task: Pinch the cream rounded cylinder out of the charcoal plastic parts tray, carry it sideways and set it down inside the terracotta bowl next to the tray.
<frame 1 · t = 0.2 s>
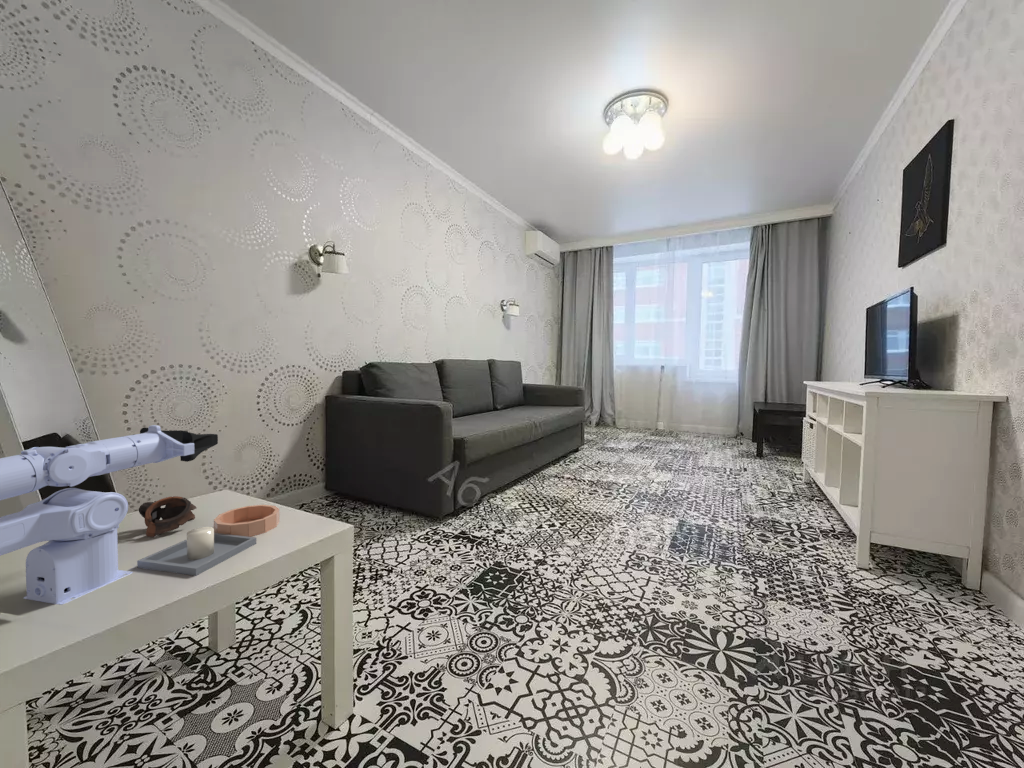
hand: (201, 437, 82), 21 cm above the table, tool horizontal, fingers open, 7 cm apart
parts tray: (200, 557, 74), on the table
terracotta bowl: (248, 529, 86), on the table
broken clay pot: (167, 531, 86), on the table
cream rounded cylinder: (200, 554, 74), point 1 cm above the table, touching parts tray
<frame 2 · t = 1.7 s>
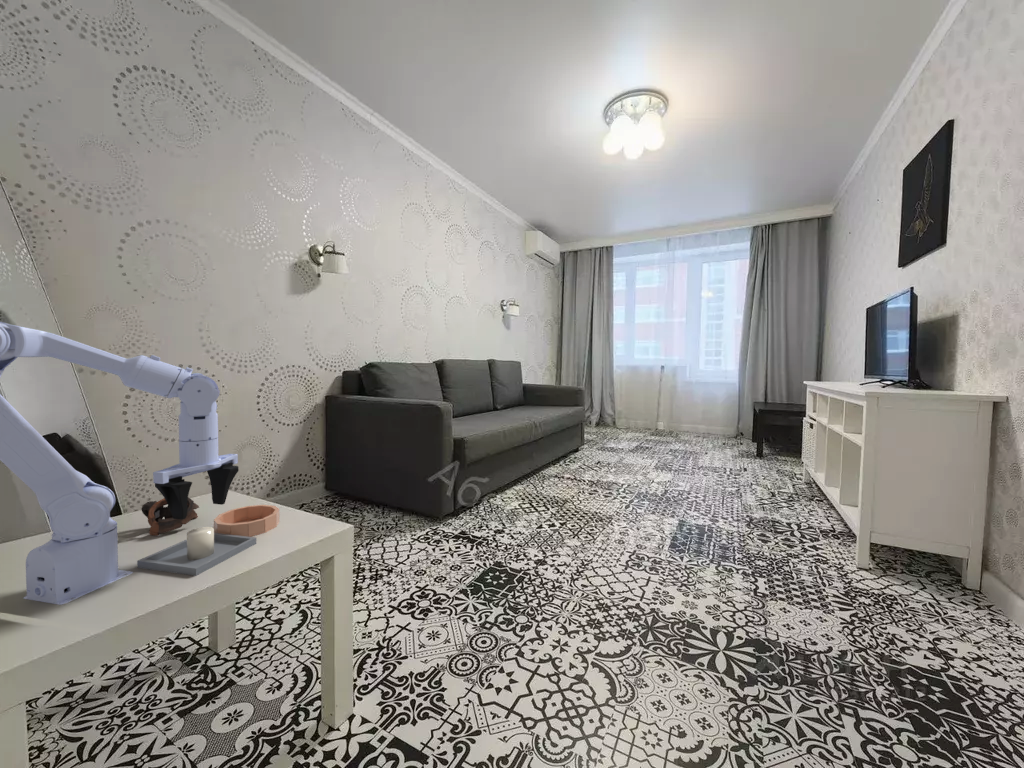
hand: (200, 510, 73), 9 cm above the table, tool pointing down, fingers open, 7 cm apart
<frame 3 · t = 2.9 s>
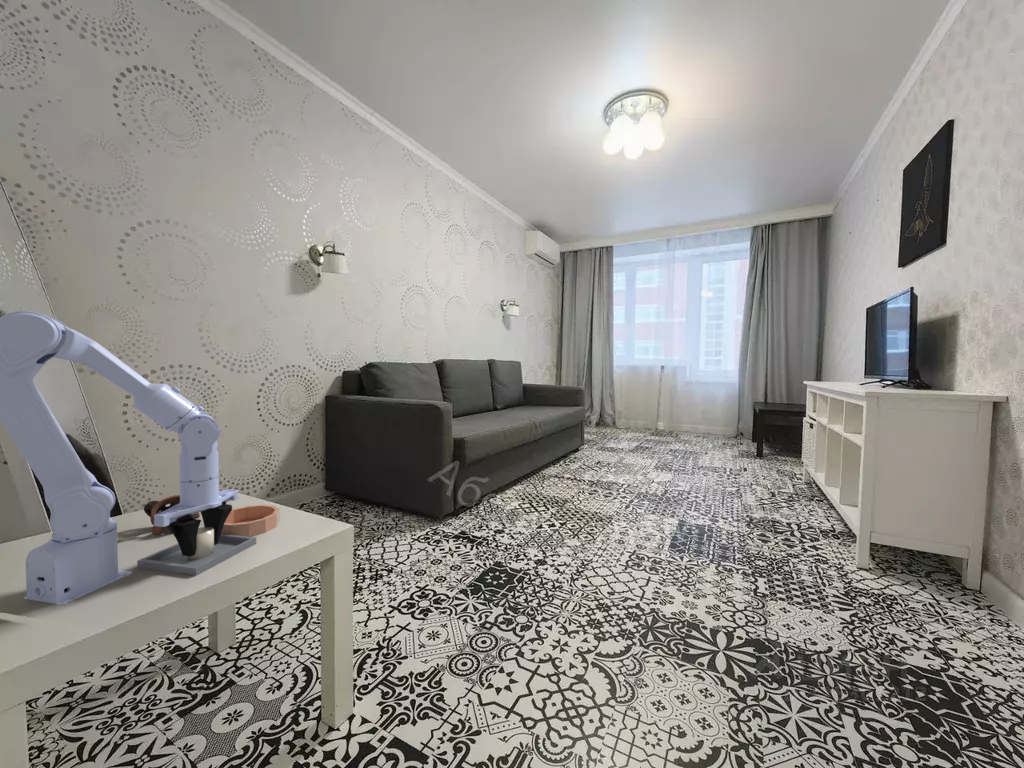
hand: (200, 549, 74), 2 cm above the table, tool pointing down, fingers closed on cream rounded cylinder, 4 cm apart
cream rounded cylinder: (200, 554, 74), point 1 cm above the table, touching gripper, parts tray
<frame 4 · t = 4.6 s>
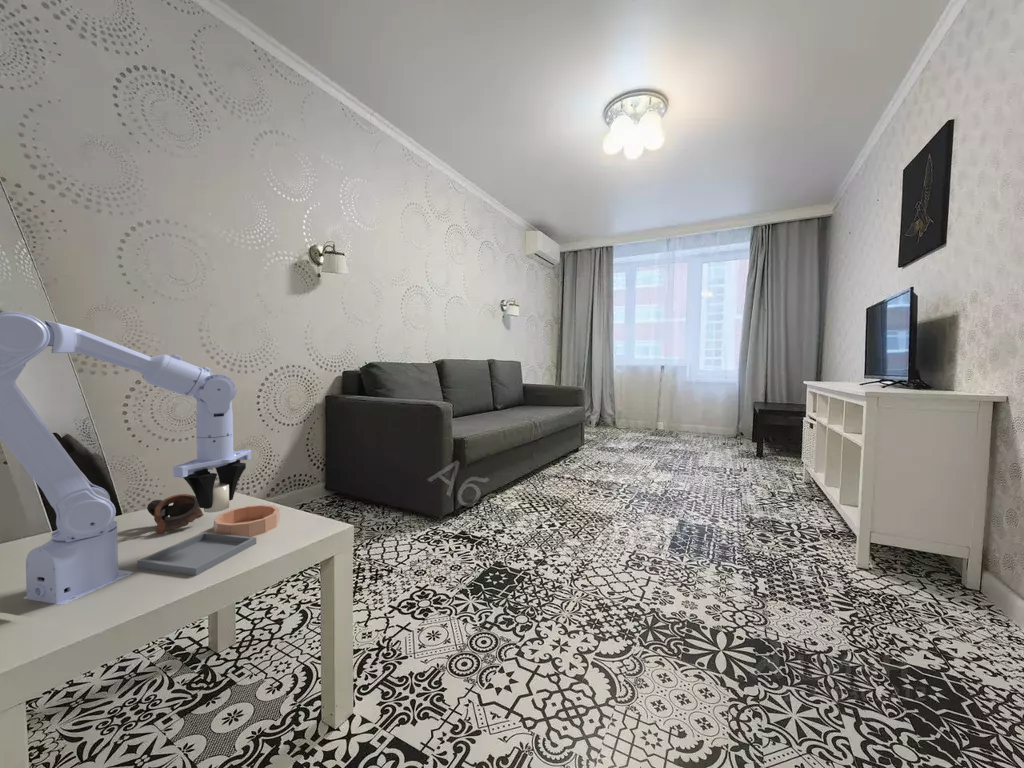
hand: (216, 503, 77), 9 cm above the table, tool pointing down, fingers closed on cream rounded cylinder, 4 cm apart
cream rounded cylinder: (216, 508, 77), point 8 cm above the table, touching gripper
when the fingers open (4 cm above the table, at t = 6.5 s): cream rounded cylinder drops 2 cm, resting on terracotta bowl.
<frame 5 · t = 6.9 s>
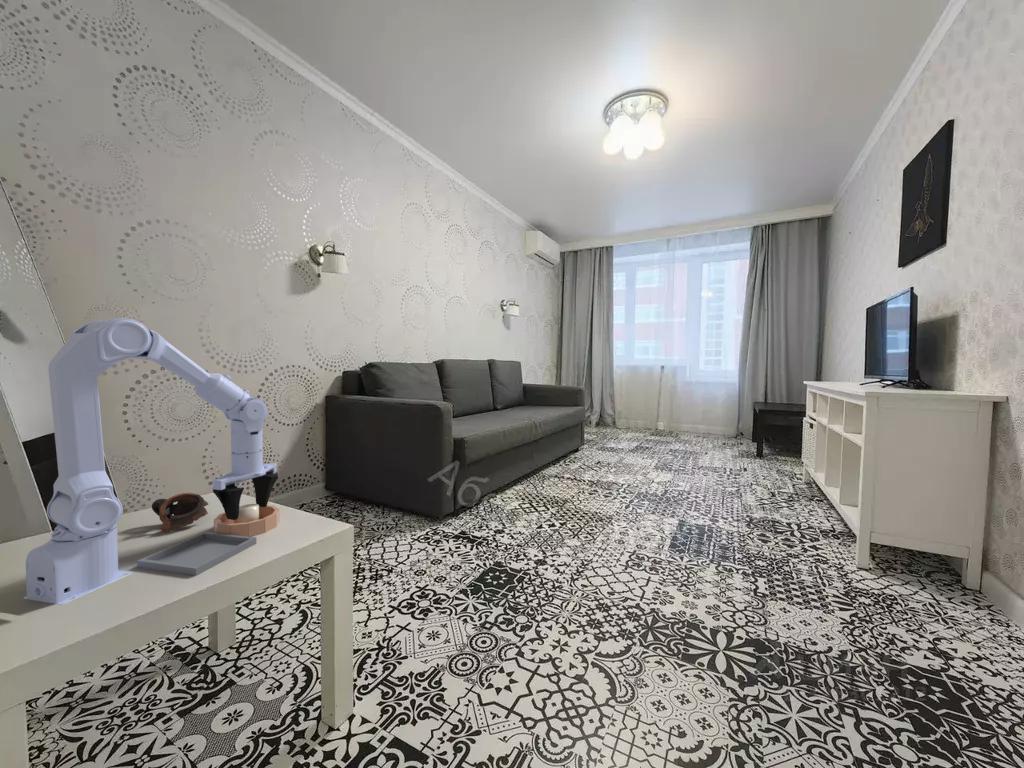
hand: (247, 512, 86), 4 cm above the table, tool pointing down, fingers open, 7 cm apart
cream rounded cylinder: (248, 527, 86), point 1 cm above the table, touching terracotta bowl
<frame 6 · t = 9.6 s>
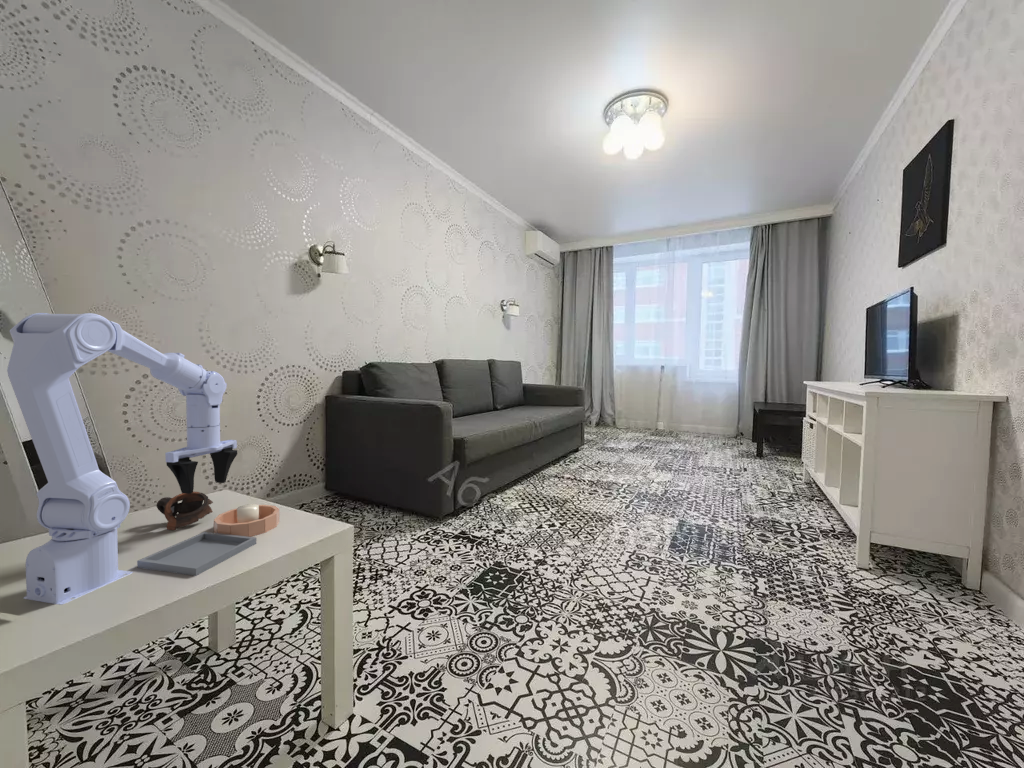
hand: (204, 487, 86), 9 cm above the table, tool pointing down, fingers open, 7 cm apart
at the end: cream rounded cylinder inside the target area on the terracotta bowl (0.1 cm from its centre), point 0.6 cm above the terracotta bowl's base; the gripper is holding nothing; cream rounded cylinder moved 12.6 cm from its start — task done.
